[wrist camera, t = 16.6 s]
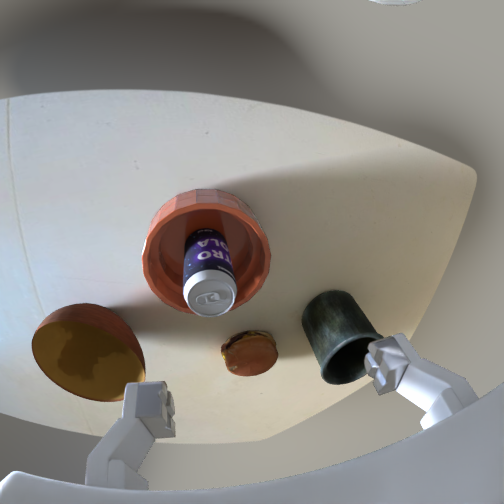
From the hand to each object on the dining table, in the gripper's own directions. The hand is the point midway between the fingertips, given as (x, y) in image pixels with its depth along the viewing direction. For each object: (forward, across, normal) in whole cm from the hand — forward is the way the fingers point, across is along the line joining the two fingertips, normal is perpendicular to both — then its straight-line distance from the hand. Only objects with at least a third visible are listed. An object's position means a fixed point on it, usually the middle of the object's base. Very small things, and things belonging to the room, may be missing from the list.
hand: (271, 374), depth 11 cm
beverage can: (+29, +3, +10) cm, 31 cm away
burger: (+30, -1, +31) cm, 43 cm away
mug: (+30, -15, +28) cm, 44 cm away
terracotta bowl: (+30, +3, +10) cm, 32 cm away
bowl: (+30, +23, +21) cm, 43 cm away
